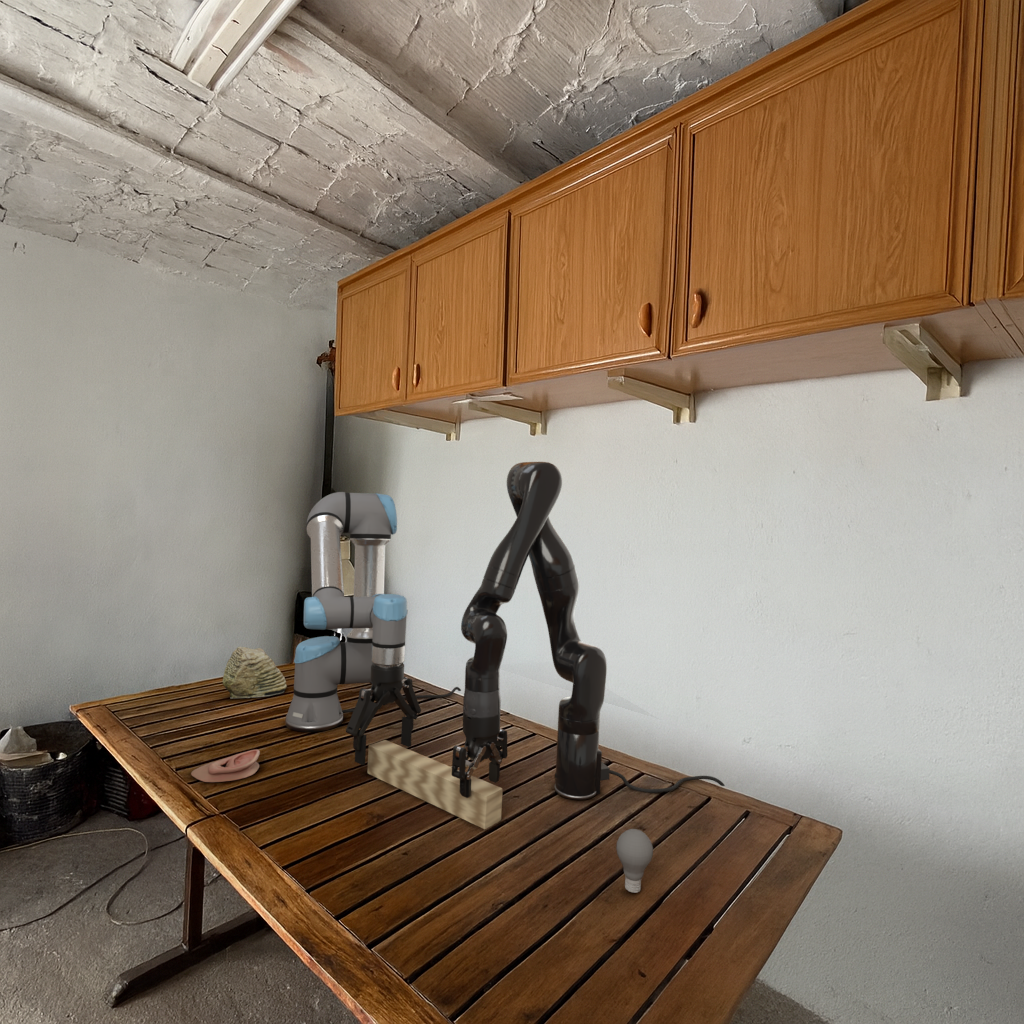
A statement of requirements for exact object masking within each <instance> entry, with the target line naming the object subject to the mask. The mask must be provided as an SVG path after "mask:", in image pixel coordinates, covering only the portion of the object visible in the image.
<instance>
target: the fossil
mask: <svg viewBox="0 0 1024 1024" xmlns="http://www.w3.org/2000/svg"><path fill="white" fill-rule="evenodd" d="M222 676H223V677H222V685H223V687H224V688H225V690H226V691H228V693H229V698H230V699H250V698H264V697H271V696H275V695H281V694H284V693H285V691H286V689H287V687H288V686H287V680H286V678H285V676H284V674H283V673H282V672H281V669H279V668H278V667H277V665H276V663H275V662H274V660H273V659H272V658H271V657H270V656H269V655H268V654H267V653H266V652H265V650H264V649H263V648H260V647H258V648H251V647H247V646H246V647H245V646H238V647H237V648H236V649H235V650H233V651H232V653H231V656H230V657H229V659H228V660H227V663H226V666H225V668H224V671H223V675H222Z"/></svg>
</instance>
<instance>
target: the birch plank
mask: <svg viewBox="0 0 1024 1024" xmlns="http://www.w3.org/2000/svg"><path fill="white" fill-rule="evenodd" d="M367 753H368V754H367V775H370V776H372V777H374V778H376V779H378V780H381V781H382V782H384V783H387V784H388V785H390V786H393V787H394V788H397V789H399V790H401V791H403V792H406V793H408V794H409V795H411V796H414V797H416V798H418V799H420V800H422V801H424V802H426V803H428V804H430V805H433V806H434V807H437V808H439V809H441V810H443V811H445V812H447V813H449V814H451V815H454V816H455V817H457V818H460V819H462V820H463V821H465V822H468V823H470V824H472V825H475V826H476V827H478V828H480V829H483V830H487V829H489V828H491V827H492V826H494V825H496V824H498V823H499V822H501V821H502V811H503V810H502V809H503V788H502V787H500V786H498V785H495V784H493V783H491V782H488V781H486V780H483V779H481V778H479V777H476V776H473V775H472V776H471V796H470V797H469V798H466V797H464V796H462V795H461V794H460V779H459V778H456V777H453V776H452V766H450V765H447V764H445V763H443V762H440V761H438V760H436V759H433V758H430V757H428V756H425V755H423V754H421V753H418V752H416V751H414V750H411V749H408V748H407V747H405V746H403V745H402V746H401V745H399V744H396V743H394V742H392V741H390V740H387V739H384V740H381V741H378V742H375V743H371V744H369V745H368V750H367ZM458 771H459V769H458Z"/></svg>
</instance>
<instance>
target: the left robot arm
mask: <svg viewBox="0 0 1024 1024" xmlns="http://www.w3.org/2000/svg"><path fill="white" fill-rule="evenodd" d="M397 531H398V515H397V509H396V504H395V501H394V499H393V497H392V496H391V495H389V494H383V493H377V492H375V493H374V492H372V493H371V492H369V493H367V492H345V491H337V492H332V493H330V494H328V495H325V496H324V497H322V498H321V499H320V500H318V501H317V502H316V503H315V504H314V505H313V507H312V508H311V510H310V511H309V514H308V516H307V519H306V534H307V536H308V537H309V538H310V562H311V563H310V564H311V565H310V567H311V569H310V571H311V596H309V597H308V596H307V597H306V598H305V599H304V601H303V626H304V628H306V629H308V630H321V631H324V630H340V629H341V630H343V629H351V630H350V631H349V632H348V633H347V635H346V641H341V640H340V638H339V637H338V636H335V635H331V636H329V635H324V636H317V637H311V638H308V639H306V640H303V641H301V642H299V643H298V644H297V645H296V648H295V655H294V660H293V663H294V680H293V695H292V696H293V697H292V699H291V702H290V704H289V708H288V711H287V713H286V715H285V726H286V728H287V729H289V730H291V731H294V732H295V731H296V732H301V733H316V732H325V731H329V730H332V729H335V728H337V727H339V726H340V725H342V723H343V722H344V714H345V713H347V714H348V713H352V714H351V716H350V719H349V721H348V723H347V726H346V728H345V733H347V734H349V735H350V736H353V738H352V739H353V740H352V748H353V750H354V762H355V763H357V764H359V765H360V766H365V765H366V756H367V755H366V753H367V734H365V732H366V731H367V729H368V728H369V726H370V724H371V722H372V721H373V719H374V717H375V716H376V715H377V712H378V711H379V710H380V709H381V708H382V706H386V705H388V704H393V703H395V704H396V705H397V707H398V709H400V710H401V712H402V713H403V715H404V716H402V717H401V731H400V733H401V736H400V745H402V746H404V747H406V748H410V747H412V735H413V734H412V733H413V730H414V725H415V724H414V722H415V720H417V719H418V717H419V716H418V715H419V714H421V713H422V709H421V706H420V704H419V700H418V699H441V698H447V697H450V696H452V695H453V694H454V693H455V692H456V690H457V692H461V691H462V689H461V688H460V687H459V686H455V687H453V689H452V690H451V691H450V692H448V693H446V694H419V695H416V693H415V690H414V688H413V685H414V684H413V679H412V678H410V677H406V676H405V664H404V662H405V661H406V660H405V659H406V656H405V655H406V634H407V632H406V631H407V618H408V617H407V616H408V601H407V600H408V599H407V598H406V597H405V595H401V594H395V593H385V577H386V576H385V574H386V573H385V572H386V571H385V570H386V546H387V545H388V544H389V543H390V542H391V541H392V535H395V534H396V533H397ZM342 534H349V541H350V542H351V543H352V544H353V545H354V568H353V569H354V570H353V571H354V572H353V577H354V578H353V596H345V586H344V574H343V563H342V562H343V560H342V559H343V558H342V548H341V547H342V545H341V536H342ZM353 684H371V686H370V688H367V689H366V688H364V687H361V688H360V689H359V692H358V698H357V701H356V704H355V706H354V708H349V709H342V706H341V702H340V699H339V695H338V685H353ZM401 690H402V691H403V695H402V693H401Z"/></svg>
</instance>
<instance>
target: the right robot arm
mask: <svg viewBox="0 0 1024 1024" xmlns="http://www.w3.org/2000/svg"><path fill="white" fill-rule="evenodd" d="M562 489H563V477H562V474H561V471H560V470H559V468H558V467H557V466H556V465H555V464H554V463H551V462H548V461H524V462H523V461H522V462H518V463H515V464H514V465H513V466H512V467H511V468H510V469H509V470H508V473H507V476H506V490H507V494H508V497H509V500H510V503H511V506H512V508H513V510H514V513H515V516H516V518H515V521H513V524H512V526H511V527H510V529H509V530H508V532H507V533H506V534H505V536H504V537H503V538H502V539H501V541H500V542H499V543H498V545H497V547H496V548H495V550H494V551H493V553H492V555H491V556H490V559H489V561H488V564H487V567H486V569H485V572H484V575H483V579H482V581H481V583H480V586H479V588H478V590H477V591H476V592H475V593H474V595H473V597H472V599H471V600H470V602H468V604H467V607H466V609H465V610H464V612H463V614H462V619H461V623H460V630H461V634H462V636H463V638H464V639H465V640H466V641H468V642H470V643H472V644H474V646H475V647H474V652H473V653H474V654H473V656H472V657H470V658H468V659H467V661H466V663H465V671H464V692H463V700H462V701H463V702H462V710H463V711H462V732H463V735H464V736H465V737H464V738H465V741H464V744H463V745H457V744H456V745H454V746H453V748H452V759H451V760H452V761H451V767H452V776H453V777H456V778H459V779H460V794H461V795H462V796H464V797H466V798H469V797H470V796H471V776H473V773H474V771H475V770H477V769H478V767H479V764H480V763H481V762H483V761H484V760H488V761H490V762H489V763H488V780H489V781H490V782H492V783H494V784H496V783H498V782H499V781H500V776H501V773H500V772H501V765H502V762H503V760H504V759H507V758H508V731H507V730H506V729H503V728H501V702H502V699H501V697H502V696H501V665H502V662H503V660H504V656H505V655H504V654H505V652H506V647H507V642H508V628H507V624H506V621H505V619H504V618H503V617H502V616H501V615H499V614H497V613H498V611H499V610H500V608H501V606H502V605H503V604H508V603H510V602H511V601H512V599H513V598H514V595H515V593H516V591H517V587H518V584H519V582H520V579H521V576H522V573H523V570H524V567H525V565H526V563H527V561H528V559H529V561H530V565H531V570H532V575H533V579H534V582H535V585H536V589H537V593H538V595H539V599H540V603H541V607H542V611H543V615H544V619H545V624H546V627H547V633H548V638H549V644H550V652H551V657H552V663H553V667H554V670H555V671H556V673H557V674H558V676H559V677H560V678H561V679H563V680H565V681H566V682H567V681H568V682H570V683H572V689H571V695H569V696H566V697H563V698H561V699H560V700H559V702H558V713H557V715H558V717H557V738H556V756H555V757H556V758H555V772H554V791H555V793H556V794H558V795H559V796H560V797H562V798H564V799H568V800H572V801H584V800H585V801H586V800H590V799H592V798H594V797H596V795H601V782H602V781H609V780H610V775H612V776H613V775H614V776H615V777H618V778H620V779H621V780H622V782H623V783H624V785H625V786H626V787H627V788H629V789H631V790H633V791H636V792H637V791H638V792H642V793H643V792H644V793H649V794H658V793H659V794H660V793H668V792H673V791H674V790H676V789H678V787H680V785H681V784H683V783H684V782H689V781H696V780H697V781H699V780H708V781H713V782H715V783H717V784H718V785H719V786H721V787H725V786H726V785H725V784H724V783H723V781H721V780H720V779H719V778H718V777H714V776H711V775H694V776H687V777H683V778H680V779H679V780H678V781H676V783H675V784H674V785H672V786H670V787H662V788H642V787H638V786H634V785H632V784H631V783H630V782H629V781H628V780H627V778H626V777H625V775H623V774H621V773H620V772H618V771H615V770H612V769H611V768H610V766H609V767H608V766H607V765H606V764H605V763H604V762H603V761H602V759H603V752H602V750H601V749H599V747H600V746H599V743H600V725H601V724H600V722H601V721H600V720H601V710H602V707H603V705H604V701H605V697H606V696H605V695H606V685H607V676H608V675H607V674H608V662H607V657H606V653H605V652H604V651H603V649H601V648H600V647H598V646H596V645H593V644H590V643H587V642H584V641H582V640H581V638H580V635H579V632H578V628H577V625H576V621H575V612H576V608H577V607H576V606H577V603H578V600H579V595H580V581H579V576H578V572H577V568H576V564H575V561H574V560H575V559H574V558H573V555H572V553H571V551H570V549H569V548H568V545H566V543H565V542H564V540H563V538H562V537H561V536H560V534H559V532H557V530H556V528H555V527H554V525H553V523H552V521H551V518H550V514H551V512H552V511H553V509H554V507H555V505H556V503H557V501H558V499H559V497H560V495H561V492H562ZM469 760H471V761H469ZM467 768H468V769H467ZM458 770H459V771H458ZM466 770H467V771H466Z"/></svg>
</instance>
